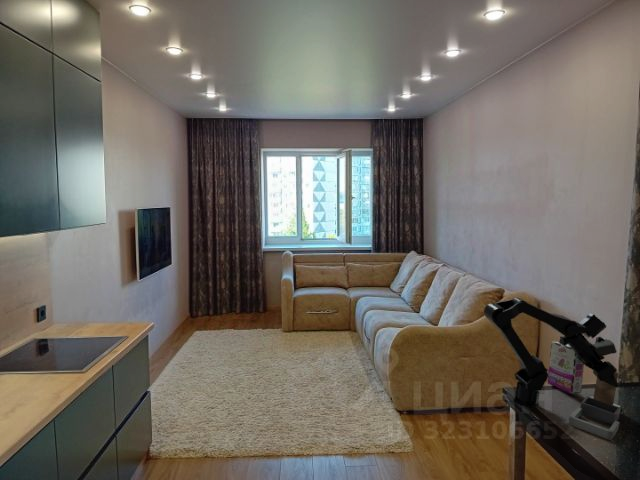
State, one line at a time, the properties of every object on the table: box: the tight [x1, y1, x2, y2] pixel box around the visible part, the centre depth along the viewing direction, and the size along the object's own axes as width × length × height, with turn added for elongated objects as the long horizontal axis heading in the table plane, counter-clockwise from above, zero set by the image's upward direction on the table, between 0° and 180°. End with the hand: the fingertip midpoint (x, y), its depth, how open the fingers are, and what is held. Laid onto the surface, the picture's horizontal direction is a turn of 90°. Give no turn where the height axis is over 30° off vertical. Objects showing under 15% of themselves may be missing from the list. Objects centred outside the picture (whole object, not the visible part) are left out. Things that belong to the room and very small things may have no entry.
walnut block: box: [593, 371, 619, 405], centre depth 161 cm, size 4×4×13 cm
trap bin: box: [579, 396, 621, 427], centre depth 155 cm, size 10×7×4 cm
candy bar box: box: [547, 340, 585, 395], centre depth 174 cm, size 11×5×16 cm, turn 21°
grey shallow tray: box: [567, 406, 620, 441], centre depth 148 cm, size 12×10×2 cm
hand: (611, 381), depth 161 cm, fingers open, 8 cm apart
